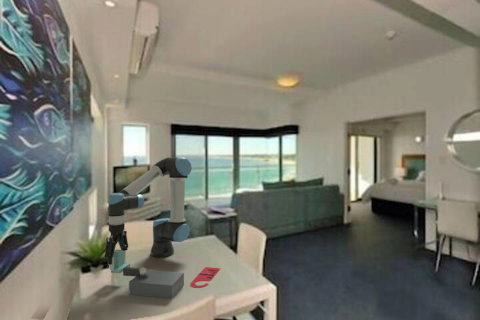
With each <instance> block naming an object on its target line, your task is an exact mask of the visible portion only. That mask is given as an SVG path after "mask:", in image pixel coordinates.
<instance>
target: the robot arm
mask: <svg viewBox="0 0 480 320" xmlns="http://www.w3.org/2000/svg"><path fill="white" fill-rule="evenodd" d="M191 172H192V163H191V162H190V161H189V158H186V157H182V156H180V157H179V156H178V157H177V156H176V157H175V156H174V157H172V156H171V157H170V156H168V157H165V158H163V159H161V160H160V161H157V162H156V163H155V164H153V165H151V167H150V169H149V170H147V171H146V172H145V173H143V174H141V176H139V177H138V178H137V179H135V180H134V181H132V182H131V183H129V184H128V185H127V186H126V187H124V188H123V189H122V190H120V191H118V192H113V193H110V194H109V195H108V197H107V199H108V201H107V205H108V206H107V207H108V209H107V210H108V232H109V233H110V235H109V236H107V237H106V238H105V242H106V243H105V250H104V258H106V259H107V264H109V267H110V270H111V271H114V257H113V254H114V250H116V245H117V244H118V245H119V247H120V248H119V249H120V250H123V263H127V262H126V261H127V260H126V258H127V257H126V255H127V254H126V251H128V249H129V243H128V235H127V234H128V233H127V230H126V229H125V219H126V218H125V211H129V210H134V209H140V208H143V207H144V205H145V197H144V195H143V194H140V193H141V192H142V191H144V190H145V189H146V188H148V187H149V186H150V185H151V184H152V183H154V182H155V181H156V180H158V179H162V178H163V177H165V176H168V179H170V181H171V183H170V184H171V188H170V189H171V190H170V191H171V192H170V193H171V194H170V217H164V218H159V219H156V220H154V221H153V222H152V239H153V240H152V241H153V243H152V246H151V249H150V256H151V257H153V258H164V257H166V258H167V257H168V256H171V255H173V254H174V253H175V248H174V245H173V243H172V242H175V243H182V242H184V241H185V240H187V238H188V237H189V235H190V233H191V232H190V231H191V228H190V226H189V224H187V219H186V218H185V194H186V192H185V191H186V181H187V179H188V176H189V175H190V174H191Z"/></svg>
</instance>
